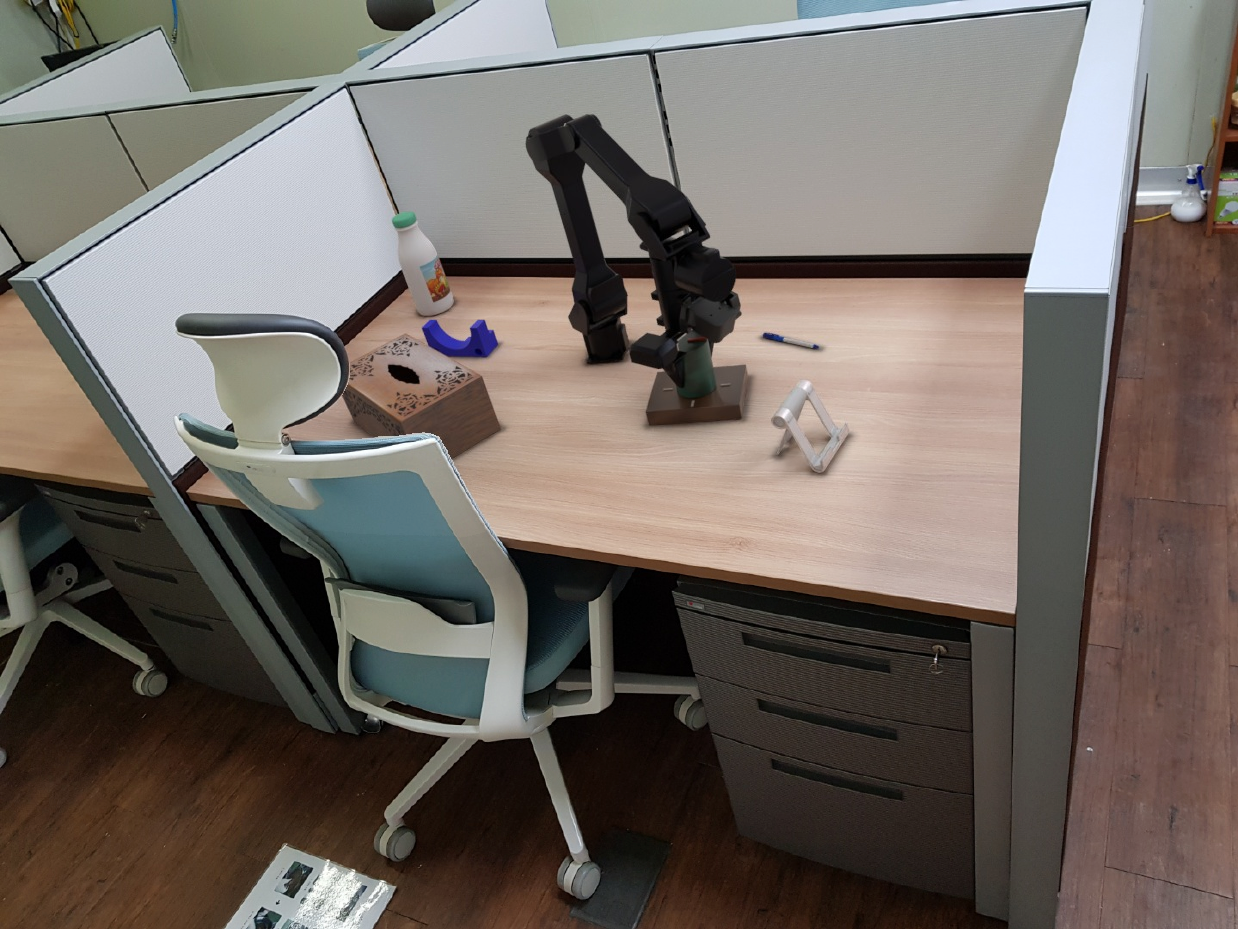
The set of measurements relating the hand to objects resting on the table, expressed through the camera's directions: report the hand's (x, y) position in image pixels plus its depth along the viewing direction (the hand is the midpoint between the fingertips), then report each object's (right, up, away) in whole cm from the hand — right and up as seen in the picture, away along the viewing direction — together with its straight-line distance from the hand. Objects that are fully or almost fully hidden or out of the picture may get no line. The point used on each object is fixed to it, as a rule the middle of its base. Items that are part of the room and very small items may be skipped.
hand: (694, 376), depth 138 cm
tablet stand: (+15, -11, -13) cm, 22 cm away
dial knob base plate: (+1, -4, +3) cm, 4 cm away
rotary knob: (0, -2, +1) cm, 2 cm away
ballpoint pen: (+16, +6, +11) cm, 20 cm away
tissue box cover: (-43, -7, +15) cm, 46 cm away
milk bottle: (-49, +19, +52) cm, 73 cm away
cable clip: (-40, +8, +34) cm, 53 cm away
